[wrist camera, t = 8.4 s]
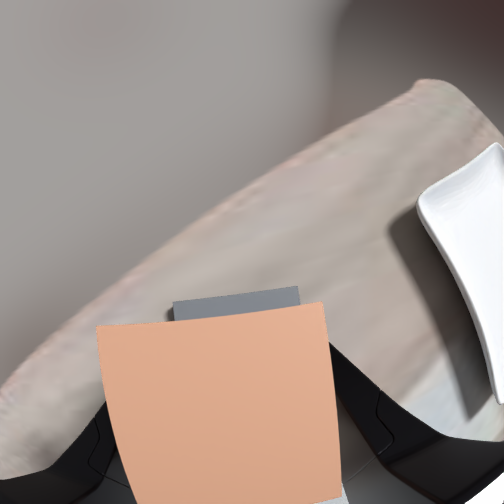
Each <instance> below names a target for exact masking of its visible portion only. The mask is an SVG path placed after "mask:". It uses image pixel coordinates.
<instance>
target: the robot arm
mask: <svg viewBox="0 0 504 504" xmlns="http://www.w3.org/2000/svg"><path fill="white" fill-rule="evenodd" d="M328 342H329V341H328ZM329 349H330V356H331V364H332V372H333V380H334V389H335V398H336V408H337V419H338V431H339V444H340V461H341V481H342V484H343V487H344V490H345V493H346V496H347V499H348V502H349V504H504V441H501V442H491V441H479V440H469V439H461V438H454V437H449V436H446V435H444V434H441V433H439V432H438V431H436V430H434V429H433V428H431V427H430V426H428V425H427V424H425V423H424V422H422V421H421V420H419V419H418V418H416V417H415V416H413V415H412V414H411V413H409V412H408V411H406V410H405V409H404V408H402V407H401V406H400V405H398V404H397V403H396V402H395V401H394V400H392V399H391V398H390V397H389V396H388V395H387V394H386V393H384V392H383V391H382V390H380V388H379V387H378V386H377V385H376V384H374V383H373V382H372V381H371V380H370V379H369V378H368V377H367V376H366V375H365V374H363V373H362V372H361V371H360V370H359V369H358V368H357V367H356V366H355V365H354V364H352V363H351V362H350V361H349V360H348V359H347V358H346V357H345V356H344V355H343V354H342V353H340V352H339V351H338V350H337V349H336V348H335V347H334V346H333V345H332V344H331V343H330V342H329ZM94 417H95V418H93V419H92V420H91V421H90V423H89V424H88V425H87V427H86V428H85V429H84V430H83V432H82V433H81V434H80V435H79V437H78V438H77V439H76V440H75V441H74V442H73V443H72V445H71V446H70V447H69V448H68V449H67V450H66V451H65V452H64V453H63V454H62V455H61V456H60V458H59V459H58V460H57V461H56V462H55V463H54V464H53V465H51V466H50V467H49V468H47V469H45V470H42V471H39V472H36V473H32V474H28V475H24V476H20V477H16V478H11V479H5V480H0V504H137V501H136V499H135V496H134V494H133V491H132V489H131V486H130V483H129V481H128V478H127V475H126V472H125V469H124V466H123V463H122V460H121V457H120V454H119V450H118V447H117V444H116V440H115V436H114V432H113V429H112V424H111V420H110V416H109V412H108V407H107V402H106V401H105V403H104V404H103V405H102V407H101V408H100V409H99V411H98V412H97V413H96V415H95V416H94Z"/></svg>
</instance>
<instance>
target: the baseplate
mask: <svg viewBox="0 0 504 504" xmlns="http://www.w3.org/2000/svg"><path fill="white" fill-rule="evenodd" d="M298 305H300V299H299V292H298V286H293V287H286V288H280V289H273V290H266V291H259V292H251V293H244V294H236V295H228V296H220V297H212V298H203V299H194V300H185V301H176V302H173V310H174V319H175V321H181V320H191V319H201V318H210V317H219V316H228V315H236V314H244V313H251V312H258V311H266V310H272V309H279V308H286V307H292V306H298Z"/></svg>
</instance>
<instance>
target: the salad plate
mask: <svg viewBox="0 0 504 504" xmlns="http://www.w3.org/2000/svg"><path fill="white" fill-rule="evenodd" d="M416 208H417V213H418V216H419V218H420V220H421V222H422V224H423V226H424V228H425V229H426V231H427V233H428V234H429V236H430V237H431V239H432V240H433V242H434V243H435V245H436V246H437V248H438V250H439V251H440V253H441V255H442V257H443V258H444V260H445V262H446V264H447V265H448V267H449V269H450V271H451V273H452V275H453V277H454V279H455V281H456V283H457V285H458V287H459V289H460V291H461V294H462V296H463V298H464V300H465V303H466V305H467V307H468V310H469V312H470V315H471V317H472V320H473V322H474V325H475V328H476V330H477V333H478V336H479V340H480V343H481V346H482V350H483V353H484V357H485V361H486V365H487V370H488V374H489V379H490V383H491V387H492V391H493V394H494V396H495V399H496V401H497V403H498V404H499V405H501V404H503V403H504V149H503V148H502V146H501V145H500V144H499V143H497V142H495V143H493V144H491V145H490V146H489V147H487V148H486V149H485V150H484V151H483V152H482V153H480V154H479V155H478V156H476V157H475V158H474V159H473V160H471V161H470V162H469V163H467V164H466V165H464V166H463V167H461V168H459V169H458V170H456V171H455V172H453V173H451V174H450V175H448V176H446V177H445V178H443V179H441V180H440V181H438V182H436V183H434V184H432V185H431V186H430V187H428V188H427V189H425V190H424V191H423V192H422V193H421V194H420V195H419V197H418V199H417V202H416Z"/></svg>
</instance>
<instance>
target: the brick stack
mask: <svg viewBox="0 0 504 504" xmlns="http://www.w3.org/2000/svg"><path fill="white" fill-rule="evenodd" d="M96 331H97V342H98V351H99V359H100V367H101V374H102V380H103V386H104V392H105V397H106V402H107V407H108V412H109V416H110V420H111V424H112V429H113V432H114V436H115V440H116V444H117V447H118V450H119V454H120V457H121V460H122V463H123V466H124V469H125V472H126V475H127V478H128V481H129V483H130V486H131V489H132V491H133V494H134V496H135V499H136V501H137V504H314V503H318V502H323V501H327V500H330V499H334V498H338V497H341V496H342V486H341V461H340V444H339V431H338V419H337V408H336V398H335V389H334V380H333V372H332V364H331V356H330V349H329V342H328V335H327V328H326V322H325V315H324V309H323V303H322V301H321V302H316V303H310V304H304V305H298V306H292V307H286V308H279V309H272V310H266V311H258V312H251V313H244V314H236V315H228V316H219V317H210V318H201V319H191V320H181V321H169V322H157V323H143V324H127V325H106V326H96Z"/></svg>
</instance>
